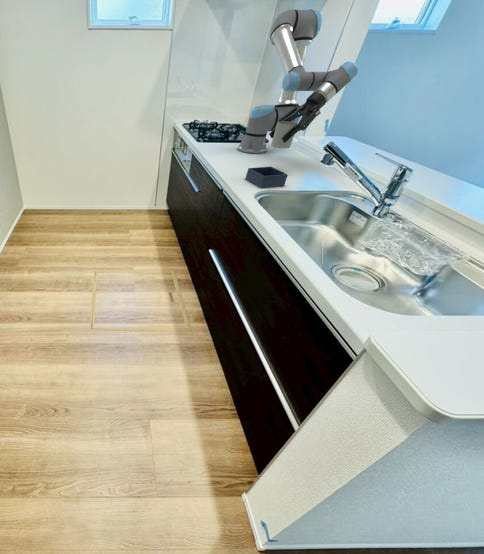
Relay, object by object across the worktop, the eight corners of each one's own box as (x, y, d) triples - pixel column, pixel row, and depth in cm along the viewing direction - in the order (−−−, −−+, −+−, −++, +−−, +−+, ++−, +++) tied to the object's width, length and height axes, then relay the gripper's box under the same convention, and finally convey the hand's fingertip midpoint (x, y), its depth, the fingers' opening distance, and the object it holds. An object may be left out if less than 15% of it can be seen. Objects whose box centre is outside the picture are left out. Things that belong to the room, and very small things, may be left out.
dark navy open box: (245, 179, 137) (248, 168, 134) (267, 177, 139) (271, 166, 136) (260, 188, 128) (263, 176, 125) (284, 185, 130) (288, 174, 127)
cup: (292, 148, 137) (300, 124, 131) (273, 148, 139) (280, 124, 133) (287, 144, 144) (294, 121, 138) (269, 143, 145) (275, 121, 139)
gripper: (341, 107, 125) (295, 149, 132) (305, 101, 142) (265, 139, 149) (337, 93, 121) (289, 137, 128) (300, 88, 138) (259, 127, 145)
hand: (276, 138), depth 138 cm, fingers closed on cup, 8 cm apart
